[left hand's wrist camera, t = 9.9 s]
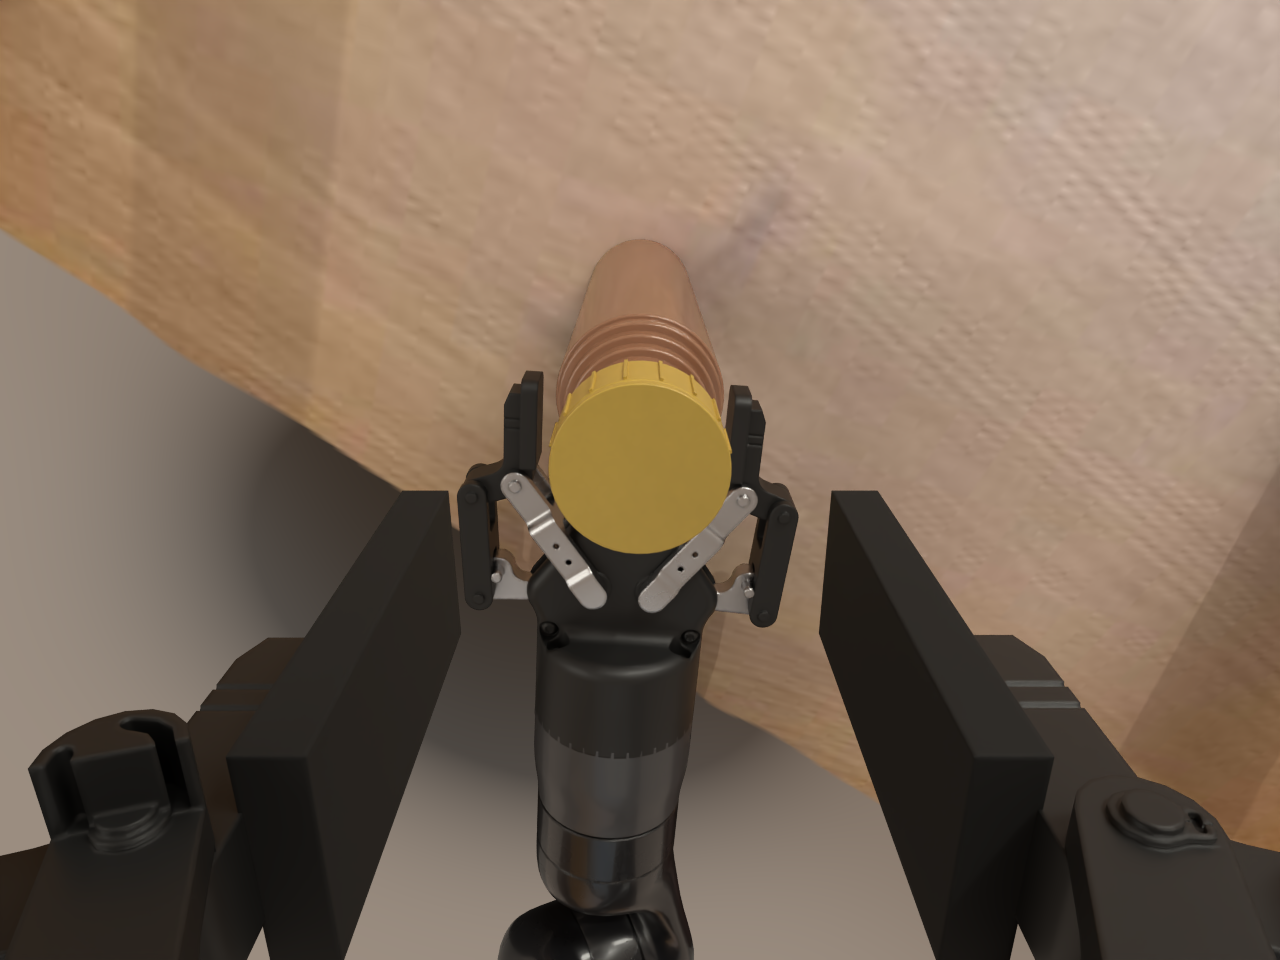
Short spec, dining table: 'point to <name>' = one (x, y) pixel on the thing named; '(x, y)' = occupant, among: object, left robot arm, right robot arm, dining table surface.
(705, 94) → the dining table surface
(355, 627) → the left robot arm
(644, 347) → the bottle
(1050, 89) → the dining table surface
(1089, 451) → the dining table surface
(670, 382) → the cap
